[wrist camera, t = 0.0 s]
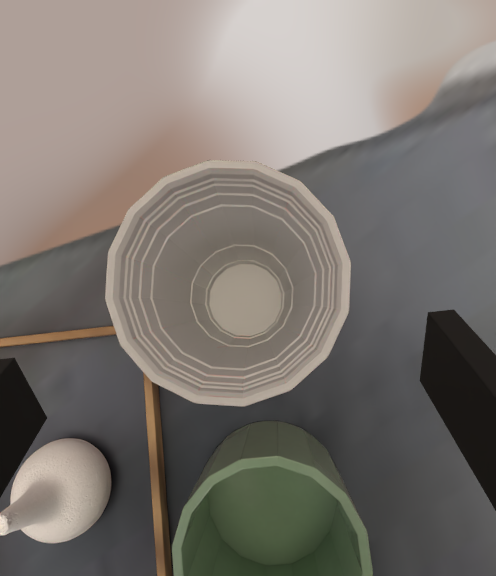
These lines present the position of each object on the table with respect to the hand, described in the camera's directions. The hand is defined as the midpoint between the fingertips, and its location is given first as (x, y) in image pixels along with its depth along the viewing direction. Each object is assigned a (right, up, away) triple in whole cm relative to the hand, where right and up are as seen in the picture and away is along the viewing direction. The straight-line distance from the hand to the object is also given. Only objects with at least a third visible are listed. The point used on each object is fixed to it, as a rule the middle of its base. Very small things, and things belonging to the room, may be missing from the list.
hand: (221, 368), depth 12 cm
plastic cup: (+1, +2, +16) cm, 16 cm away
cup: (+3, -12, +14) cm, 18 cm away
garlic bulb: (-12, -11, +15) cm, 22 cm away
